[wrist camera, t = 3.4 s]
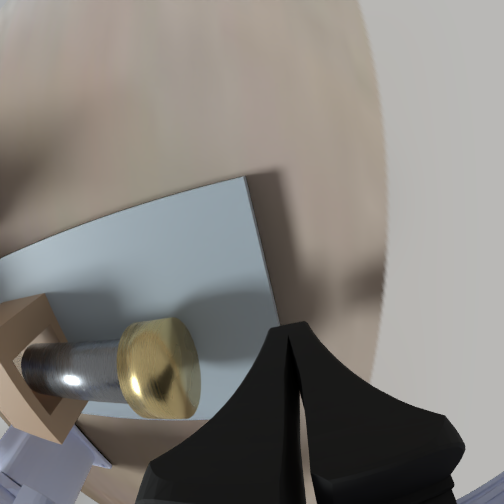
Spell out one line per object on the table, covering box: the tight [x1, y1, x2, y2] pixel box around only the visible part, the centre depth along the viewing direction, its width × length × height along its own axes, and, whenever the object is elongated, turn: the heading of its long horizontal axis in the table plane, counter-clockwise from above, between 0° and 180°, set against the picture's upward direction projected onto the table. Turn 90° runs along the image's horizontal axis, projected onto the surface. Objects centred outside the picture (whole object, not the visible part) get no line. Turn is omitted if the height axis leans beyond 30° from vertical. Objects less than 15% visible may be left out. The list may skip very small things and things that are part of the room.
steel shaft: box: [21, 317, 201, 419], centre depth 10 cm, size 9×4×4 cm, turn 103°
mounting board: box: [0, 176, 280, 445], centre depth 11 cm, size 18×12×6 cm, turn 103°
